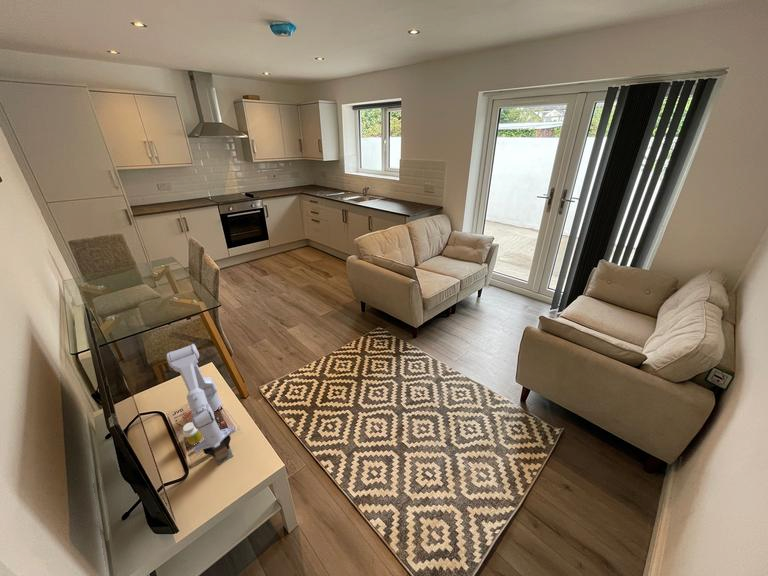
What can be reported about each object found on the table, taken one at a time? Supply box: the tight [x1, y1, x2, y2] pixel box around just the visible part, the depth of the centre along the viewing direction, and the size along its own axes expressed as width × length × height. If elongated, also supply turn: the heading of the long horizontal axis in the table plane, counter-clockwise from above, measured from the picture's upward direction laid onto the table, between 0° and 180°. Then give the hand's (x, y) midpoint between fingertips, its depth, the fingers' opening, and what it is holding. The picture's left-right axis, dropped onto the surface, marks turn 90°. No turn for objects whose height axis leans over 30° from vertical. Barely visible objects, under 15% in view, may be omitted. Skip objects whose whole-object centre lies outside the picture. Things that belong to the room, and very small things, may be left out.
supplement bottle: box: [182, 421, 204, 446], centre depth 130 cm, size 5×5×10 cm
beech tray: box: [181, 435, 213, 469], centre depth 130 cm, size 15×13×2 cm
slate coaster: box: [214, 445, 234, 466], centre depth 126 cm, size 6×6×1 cm
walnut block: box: [212, 440, 230, 461], centre depth 124 cm, size 4×4×6 cm
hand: (221, 450), depth 125 cm, fingers closed on walnut block, 4 cm apart
